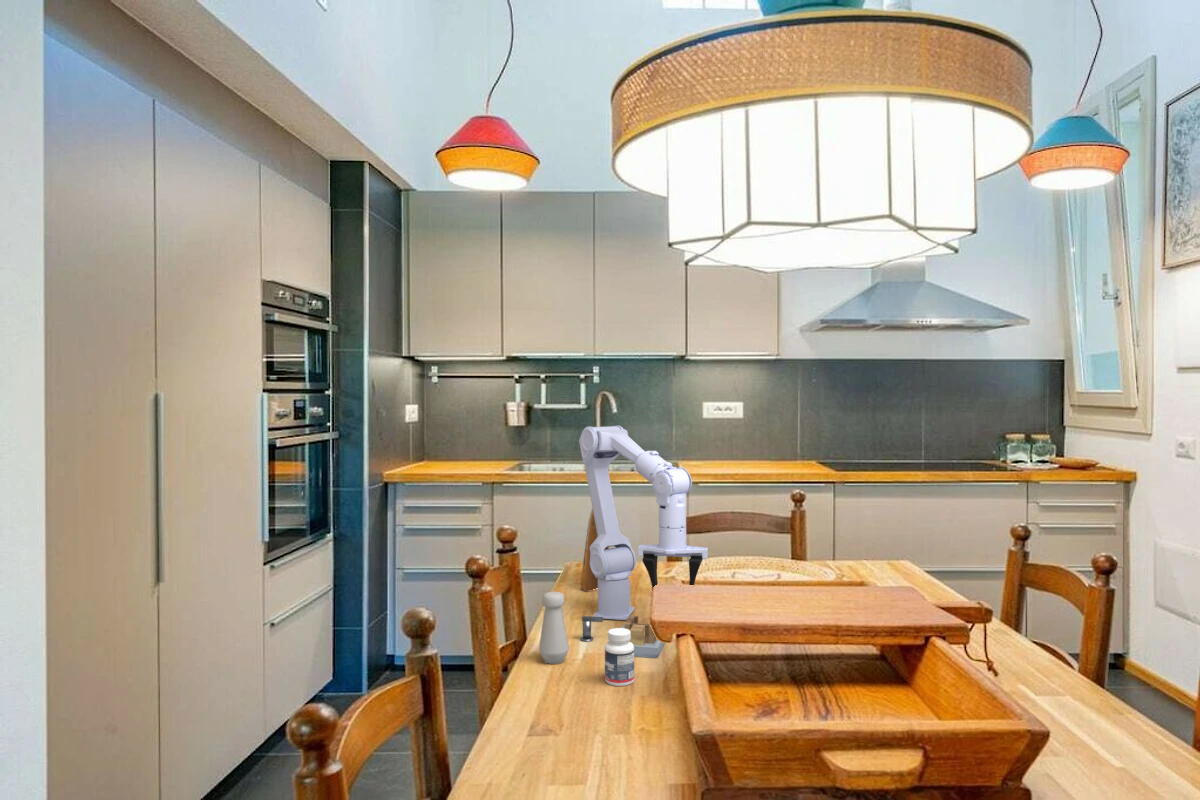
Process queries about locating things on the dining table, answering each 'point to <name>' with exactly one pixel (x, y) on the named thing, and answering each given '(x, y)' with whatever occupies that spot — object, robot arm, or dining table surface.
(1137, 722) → the dining table surface
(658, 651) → the tray
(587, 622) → the grey lever handle
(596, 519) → the robot arm
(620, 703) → the dining table surface
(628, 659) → the pill bottle
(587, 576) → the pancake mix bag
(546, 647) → the salt shaker
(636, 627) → the wooden stool frame
